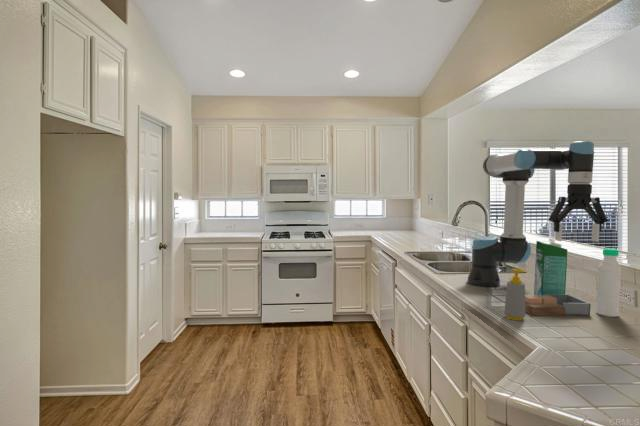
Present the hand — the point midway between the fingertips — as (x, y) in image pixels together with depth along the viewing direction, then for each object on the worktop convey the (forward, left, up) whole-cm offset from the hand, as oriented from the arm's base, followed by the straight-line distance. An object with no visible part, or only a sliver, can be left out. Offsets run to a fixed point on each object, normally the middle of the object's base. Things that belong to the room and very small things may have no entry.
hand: (576, 241), depth 144 cm
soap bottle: (+5, -24, -28) cm, 38 cm away
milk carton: (-20, +3, -28) cm, 35 cm away
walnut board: (-6, -10, -28) cm, 30 cm away
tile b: (-6, -6, -25) cm, 27 cm away
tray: (-6, +1, -28) cm, 29 cm away
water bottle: (-1, +14, -28) cm, 31 cm away
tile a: (-6, -12, -25) cm, 28 cm away
